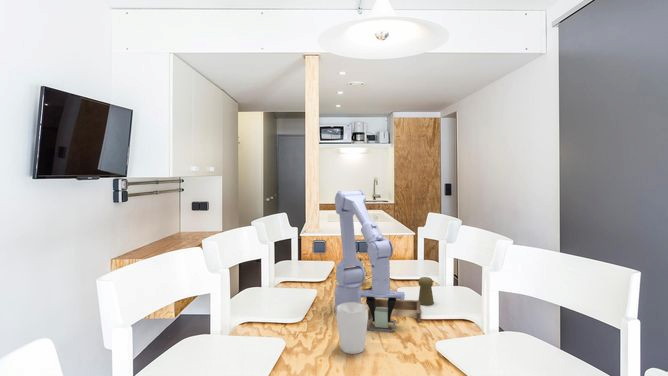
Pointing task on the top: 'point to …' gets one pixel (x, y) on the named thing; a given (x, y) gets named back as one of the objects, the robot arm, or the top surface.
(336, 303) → the robot arm
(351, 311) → the cup
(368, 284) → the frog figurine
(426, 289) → the cork
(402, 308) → the brown wooden box
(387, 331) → the gray square frame
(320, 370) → the top surface
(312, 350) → the top surface
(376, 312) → the sage block
